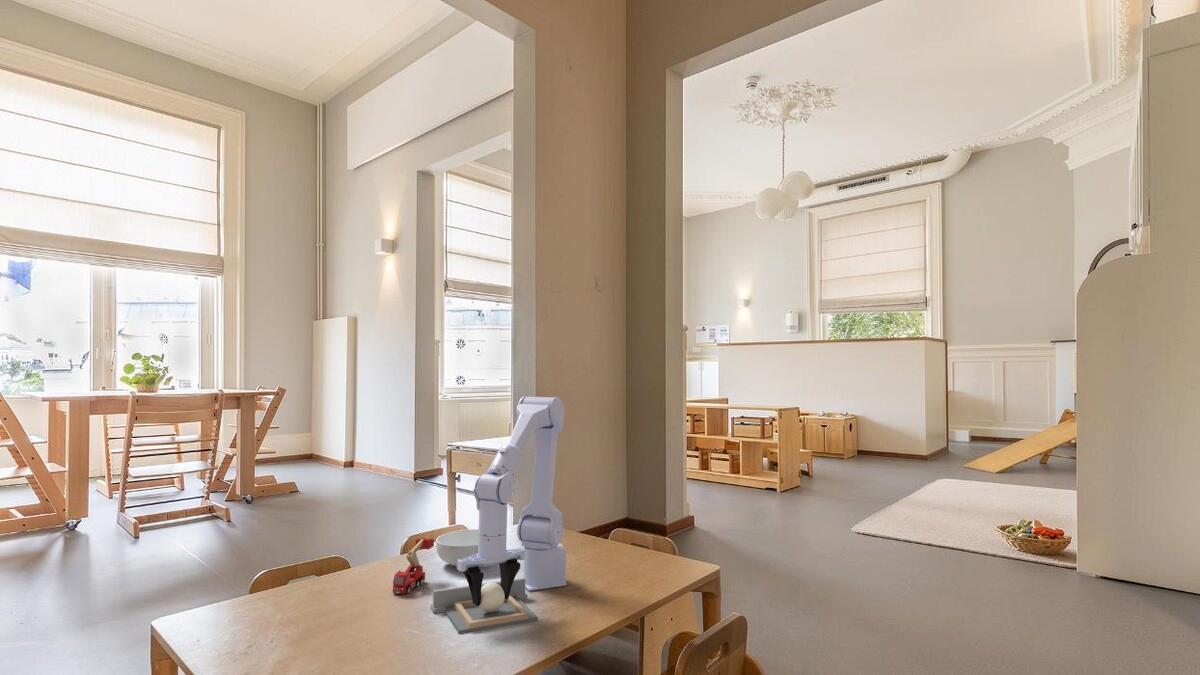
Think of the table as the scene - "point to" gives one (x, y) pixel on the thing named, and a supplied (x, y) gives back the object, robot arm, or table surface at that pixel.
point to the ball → (491, 597)
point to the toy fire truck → (412, 569)
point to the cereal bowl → (457, 545)
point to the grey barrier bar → (463, 593)
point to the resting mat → (488, 615)
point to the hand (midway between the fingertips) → (490, 600)
